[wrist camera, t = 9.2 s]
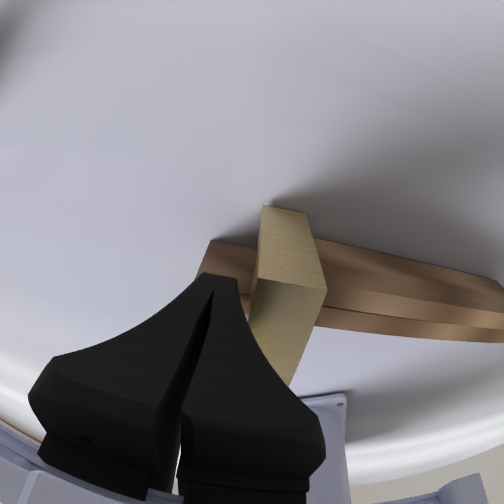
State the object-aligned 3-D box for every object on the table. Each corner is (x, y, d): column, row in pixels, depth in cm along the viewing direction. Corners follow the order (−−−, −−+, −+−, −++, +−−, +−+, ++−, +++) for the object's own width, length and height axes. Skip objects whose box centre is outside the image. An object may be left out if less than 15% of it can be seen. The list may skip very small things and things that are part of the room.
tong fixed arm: (208, 257, 16) (189, 308, 12) (210, 240, 15) (191, 288, 12) (480, 305, 16) (510, 346, 13) (487, 293, 16) (519, 333, 12)
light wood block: (246, 286, 16) (233, 380, 11) (263, 204, 14) (257, 277, 8) (283, 293, 16) (288, 388, 11) (305, 213, 14) (327, 290, 9)
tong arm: (291, 252, 15) (297, 300, 12) (296, 234, 15) (304, 279, 11) (490, 294, 16) (520, 331, 12) (497, 281, 15) (529, 317, 12)
